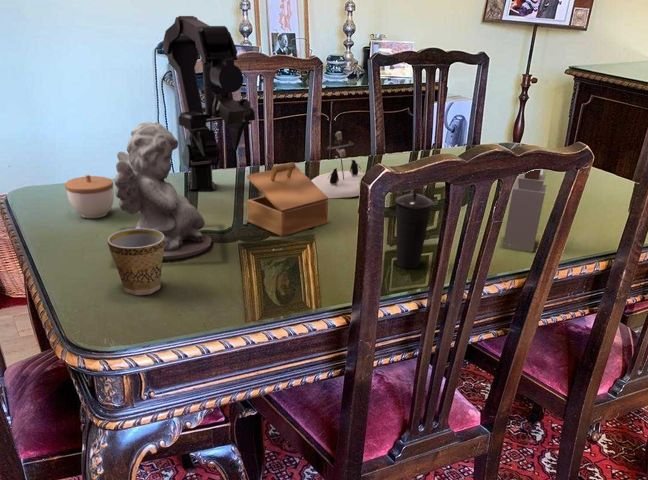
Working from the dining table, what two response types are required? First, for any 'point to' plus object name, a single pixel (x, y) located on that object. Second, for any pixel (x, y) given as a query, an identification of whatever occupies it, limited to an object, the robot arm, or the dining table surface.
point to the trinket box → (90, 195)
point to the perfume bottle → (525, 212)
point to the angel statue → (159, 193)
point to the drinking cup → (411, 228)
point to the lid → (287, 187)
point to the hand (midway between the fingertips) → (220, 153)
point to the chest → (285, 216)
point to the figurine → (340, 176)
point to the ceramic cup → (138, 259)
